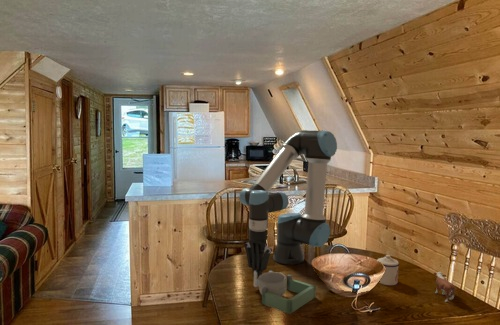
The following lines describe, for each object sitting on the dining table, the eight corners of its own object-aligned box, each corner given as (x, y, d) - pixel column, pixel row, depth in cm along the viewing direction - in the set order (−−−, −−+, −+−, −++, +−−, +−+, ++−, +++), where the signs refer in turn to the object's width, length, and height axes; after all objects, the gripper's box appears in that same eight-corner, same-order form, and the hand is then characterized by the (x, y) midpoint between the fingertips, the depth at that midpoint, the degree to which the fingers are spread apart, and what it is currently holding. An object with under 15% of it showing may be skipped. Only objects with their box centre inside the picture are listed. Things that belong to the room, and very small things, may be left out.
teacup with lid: (400, 286, 162) (401, 259, 161) (378, 285, 163) (379, 258, 162) (393, 275, 174) (395, 250, 173) (372, 274, 175) (374, 249, 174)
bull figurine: (441, 289, 160) (442, 270, 159) (456, 304, 146) (457, 283, 146) (430, 288, 160) (431, 269, 159) (444, 303, 147) (446, 283, 146)
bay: (288, 288, 159) (288, 274, 158) (315, 297, 151) (315, 282, 150) (261, 303, 145) (262, 288, 144) (289, 314, 137) (290, 298, 137)
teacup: (284, 303, 145) (285, 283, 144) (256, 301, 147) (256, 281, 146) (287, 288, 159) (287, 269, 158) (261, 286, 161) (261, 267, 160)
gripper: (239, 227, 156) (238, 284, 159) (265, 234, 148) (263, 293, 150) (251, 224, 162) (250, 278, 164) (276, 230, 154) (275, 287, 156)
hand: (256, 285), depth 157 cm, fingers closed
